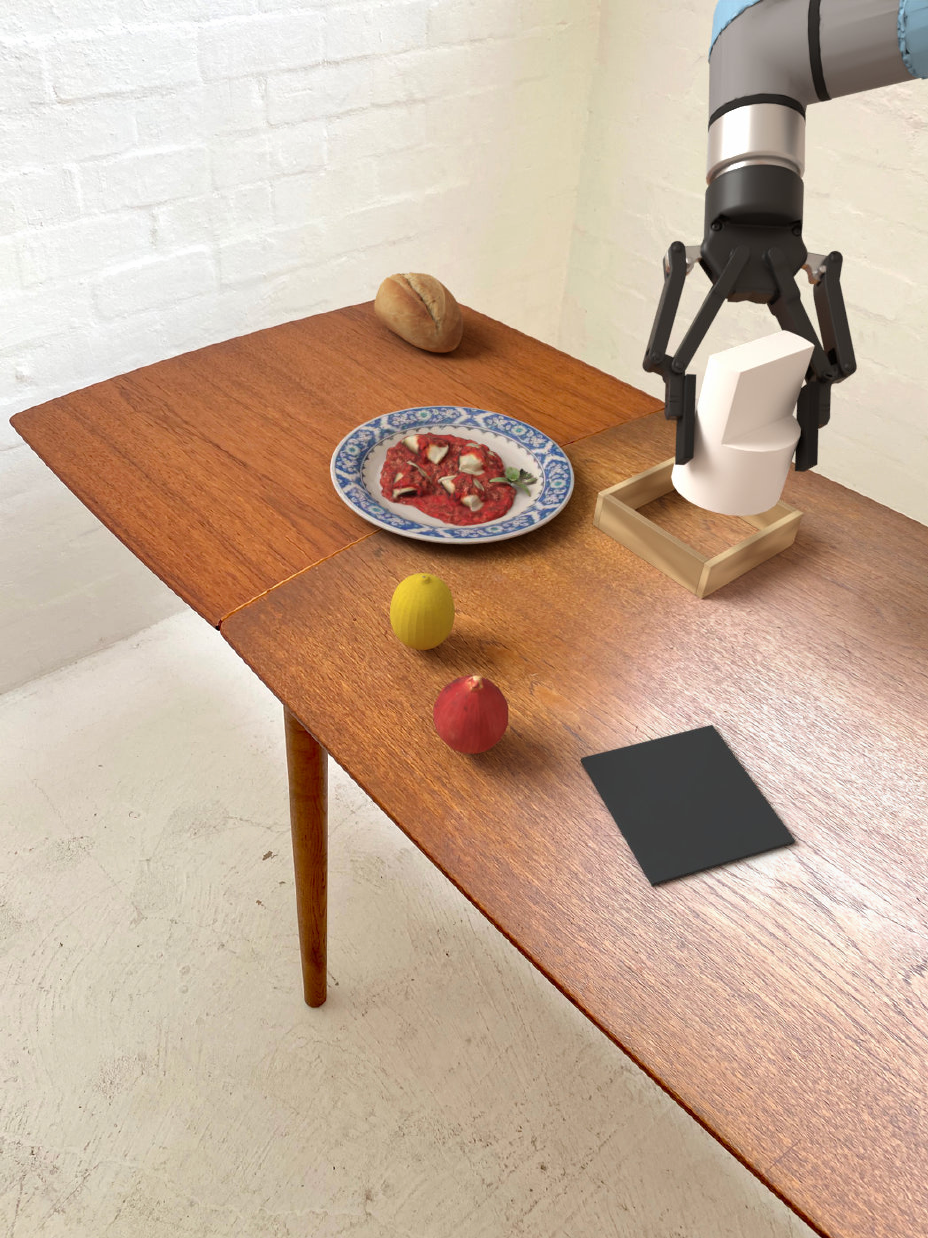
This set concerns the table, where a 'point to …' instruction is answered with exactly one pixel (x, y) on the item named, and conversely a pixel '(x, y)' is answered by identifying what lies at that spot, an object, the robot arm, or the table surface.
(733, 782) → the slate mat
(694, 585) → the square wooden frame
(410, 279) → the bread roll
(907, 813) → the table surface
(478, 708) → the onion
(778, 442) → the cylinder with rectangular tab
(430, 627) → the lemon
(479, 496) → the ceramic plate
